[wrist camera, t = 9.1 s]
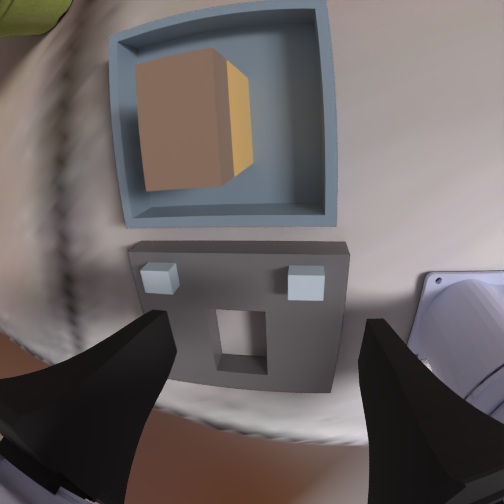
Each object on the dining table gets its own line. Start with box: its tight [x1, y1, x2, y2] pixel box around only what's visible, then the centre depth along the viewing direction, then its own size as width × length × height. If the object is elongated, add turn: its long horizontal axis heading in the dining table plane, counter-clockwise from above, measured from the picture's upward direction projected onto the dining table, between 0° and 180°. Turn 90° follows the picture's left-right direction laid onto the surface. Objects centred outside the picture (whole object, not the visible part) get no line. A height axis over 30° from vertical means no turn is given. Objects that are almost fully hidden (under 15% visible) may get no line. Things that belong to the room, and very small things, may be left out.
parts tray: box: [109, 0, 338, 228], centre depth 15 cm, size 12×12×3 cm
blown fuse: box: [135, 48, 253, 192], centre depth 12 cm, size 3×5×7 cm, turn 3°
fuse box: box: [128, 241, 350, 393], centre depth 20 cm, size 14×12×3 cm
